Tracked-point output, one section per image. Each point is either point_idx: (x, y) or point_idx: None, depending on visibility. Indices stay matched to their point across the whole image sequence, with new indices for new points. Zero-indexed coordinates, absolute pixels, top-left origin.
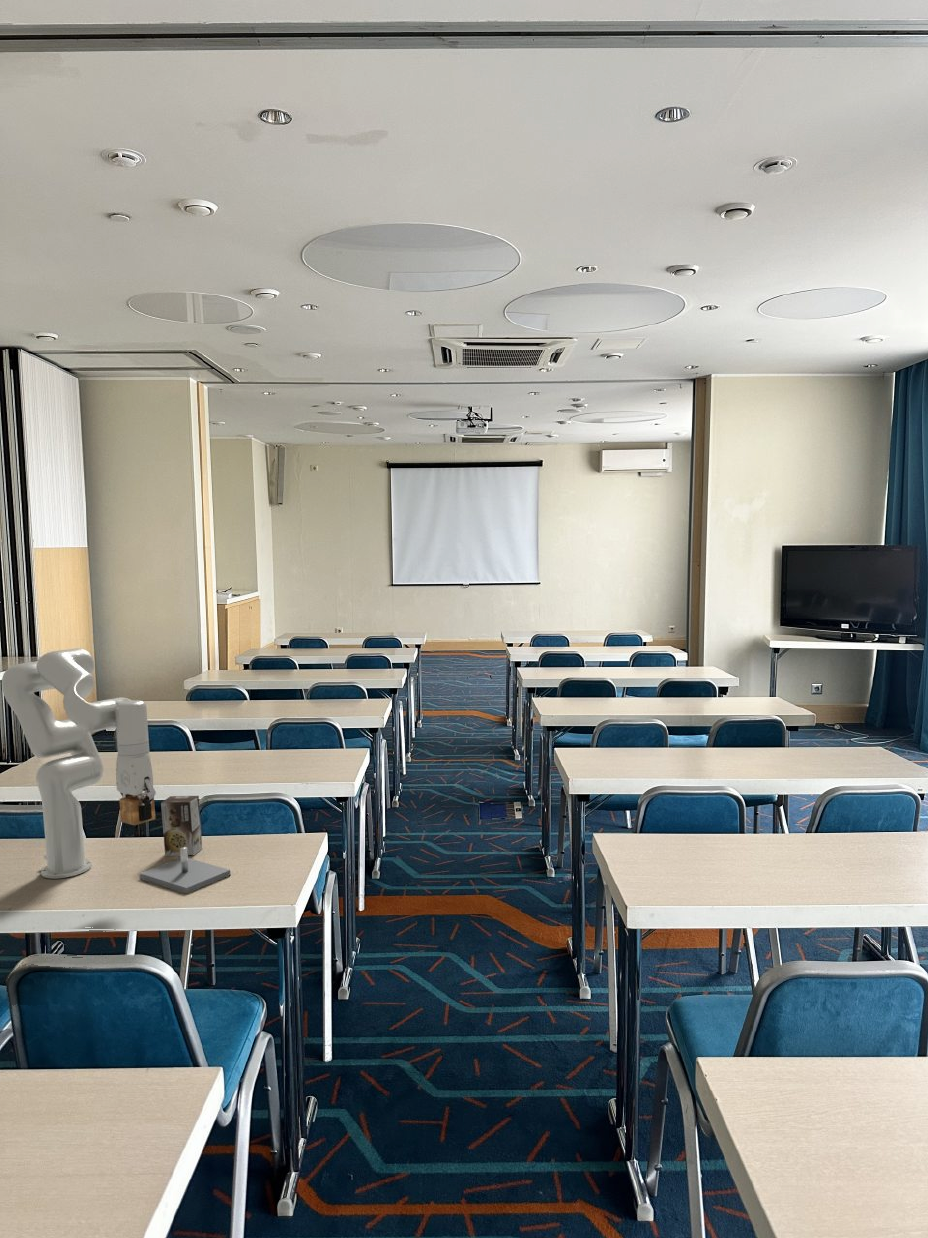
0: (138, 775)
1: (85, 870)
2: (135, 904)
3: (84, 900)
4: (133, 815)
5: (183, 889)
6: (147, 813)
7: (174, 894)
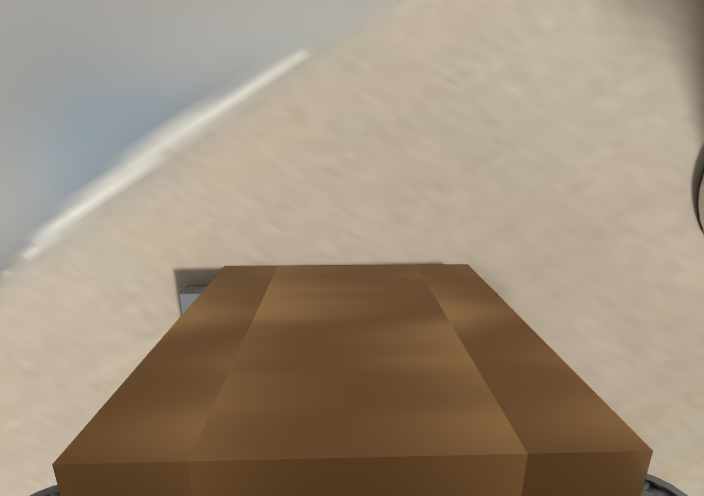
0: None
1: (702, 212)
2: (254, 137)
3: (462, 50)
4: (188, 312)
5: (200, 290)
6: None
7: (219, 262)
